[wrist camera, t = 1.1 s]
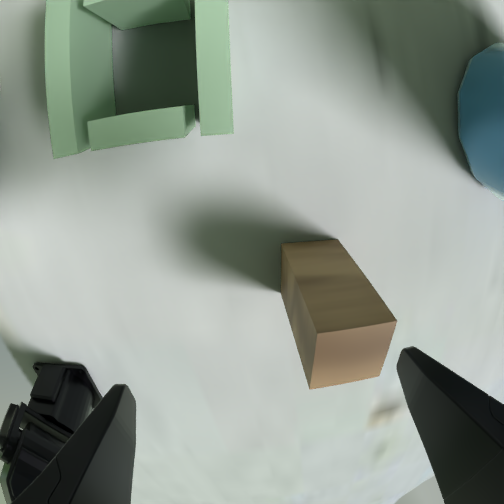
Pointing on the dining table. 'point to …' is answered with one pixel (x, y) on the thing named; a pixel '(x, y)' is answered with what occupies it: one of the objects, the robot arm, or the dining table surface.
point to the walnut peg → (333, 314)
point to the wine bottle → (484, 117)
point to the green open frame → (101, 73)
